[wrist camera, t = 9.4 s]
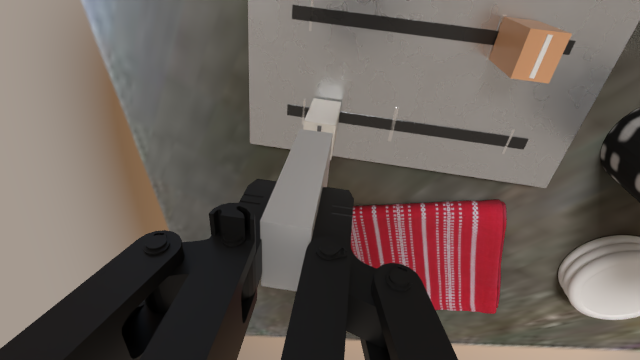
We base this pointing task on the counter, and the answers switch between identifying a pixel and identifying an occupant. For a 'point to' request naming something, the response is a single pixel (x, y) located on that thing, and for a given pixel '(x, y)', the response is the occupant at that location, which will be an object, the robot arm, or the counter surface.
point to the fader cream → (323, 118)
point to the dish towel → (438, 247)
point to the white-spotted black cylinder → (624, 153)
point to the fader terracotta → (528, 49)
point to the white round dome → (604, 277)
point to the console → (430, 80)
